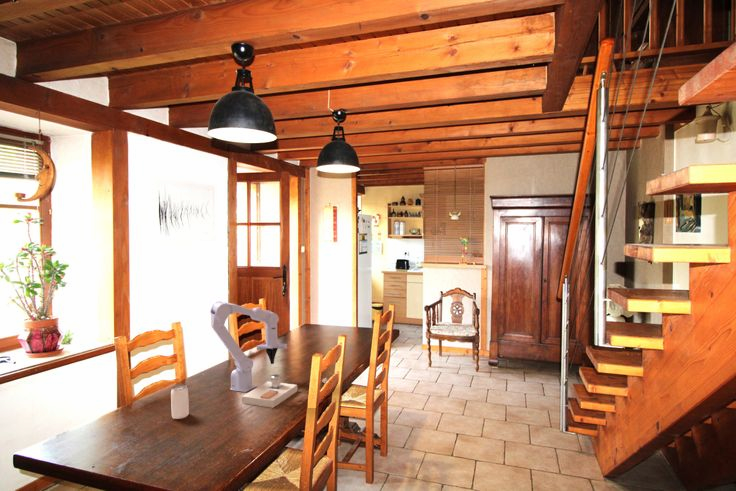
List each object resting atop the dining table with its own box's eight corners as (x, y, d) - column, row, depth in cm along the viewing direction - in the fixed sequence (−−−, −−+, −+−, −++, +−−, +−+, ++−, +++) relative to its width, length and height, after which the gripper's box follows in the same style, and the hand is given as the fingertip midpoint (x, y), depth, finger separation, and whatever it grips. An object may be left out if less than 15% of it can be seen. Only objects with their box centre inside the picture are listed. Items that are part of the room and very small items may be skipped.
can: (172, 420, 173) (171, 391, 173) (171, 414, 179) (170, 386, 178) (189, 417, 176) (188, 388, 176) (188, 411, 182) (187, 383, 181)
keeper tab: (260, 398, 187) (260, 396, 187) (270, 391, 194) (270, 389, 194) (268, 399, 186) (268, 397, 186) (277, 392, 193) (277, 390, 192)
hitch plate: (241, 403, 189) (241, 396, 189) (268, 387, 208) (268, 381, 208) (273, 407, 184) (272, 400, 184) (297, 391, 202) (297, 384, 202)
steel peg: (269, 394, 199) (268, 377, 199) (274, 390, 203) (273, 374, 203) (278, 395, 198) (277, 378, 197) (283, 391, 202) (282, 374, 202)
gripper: (255, 338, 210) (256, 366, 210) (285, 337, 211) (286, 365, 212) (257, 335, 217) (258, 362, 217) (286, 334, 218) (287, 360, 219)
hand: (272, 363), depth 215 cm, fingers closed
